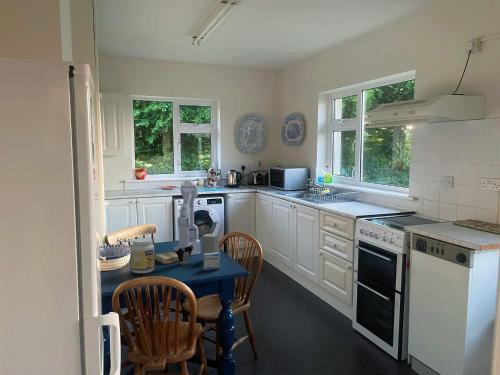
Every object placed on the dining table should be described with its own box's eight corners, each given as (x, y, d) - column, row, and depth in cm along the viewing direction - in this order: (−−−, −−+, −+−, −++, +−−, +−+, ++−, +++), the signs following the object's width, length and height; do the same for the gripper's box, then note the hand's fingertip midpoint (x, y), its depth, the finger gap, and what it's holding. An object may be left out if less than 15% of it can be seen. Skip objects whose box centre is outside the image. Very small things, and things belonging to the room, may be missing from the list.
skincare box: (220, 260, 226) (220, 234, 224) (214, 263, 219) (213, 236, 218) (208, 258, 229) (207, 232, 228) (201, 261, 223) (201, 235, 221)
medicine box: (205, 270, 205) (205, 255, 205) (203, 268, 209) (203, 253, 209) (219, 269, 209) (219, 253, 208) (216, 266, 213) (216, 251, 212)
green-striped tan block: (173, 256, 234) (173, 251, 234) (182, 260, 225) (182, 255, 224) (155, 259, 227) (154, 254, 226) (163, 264, 217) (163, 259, 217)
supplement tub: (148, 274, 198) (148, 243, 197) (127, 273, 201) (126, 242, 199) (158, 267, 210) (157, 237, 209) (138, 266, 213) (137, 237, 211)
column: (185, 262, 222) (185, 250, 221) (189, 263, 218) (189, 251, 218) (179, 263, 219) (179, 251, 219) (182, 265, 216) (182, 252, 215)
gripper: (186, 234, 226) (187, 256, 227) (170, 238, 213) (170, 262, 214) (196, 235, 222) (196, 258, 223) (179, 240, 210) (180, 264, 211)
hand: (184, 260), depth 219 cm, fingers open, 5 cm apart
